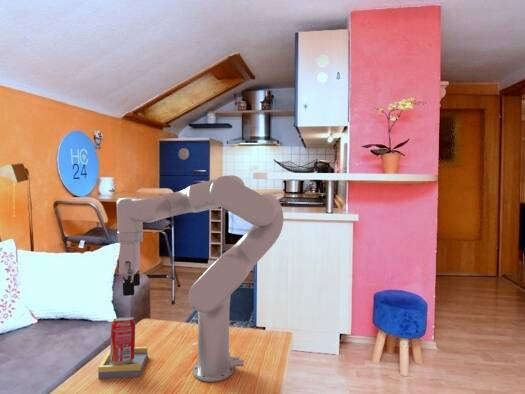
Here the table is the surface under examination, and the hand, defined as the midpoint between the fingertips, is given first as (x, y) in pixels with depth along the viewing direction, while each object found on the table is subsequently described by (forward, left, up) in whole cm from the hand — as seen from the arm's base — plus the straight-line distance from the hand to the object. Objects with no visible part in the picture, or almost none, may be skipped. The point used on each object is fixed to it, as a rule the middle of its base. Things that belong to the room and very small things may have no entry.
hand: (131, 290), depth 119 cm
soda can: (+2, +5, -21) cm, 22 cm away
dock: (+2, +2, -24) cm, 24 cm away
